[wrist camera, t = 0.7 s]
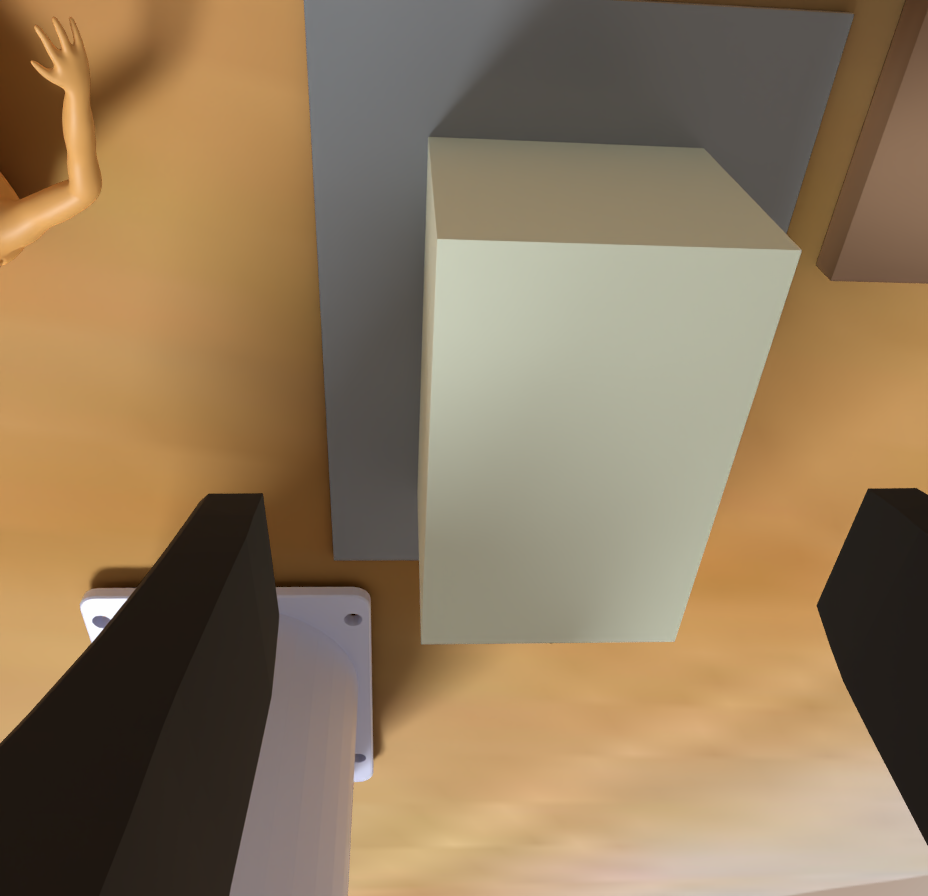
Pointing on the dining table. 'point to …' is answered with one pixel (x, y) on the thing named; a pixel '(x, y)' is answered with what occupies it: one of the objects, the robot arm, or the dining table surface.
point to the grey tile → (510, 118)
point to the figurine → (25, 220)
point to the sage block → (582, 382)
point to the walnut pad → (888, 172)
